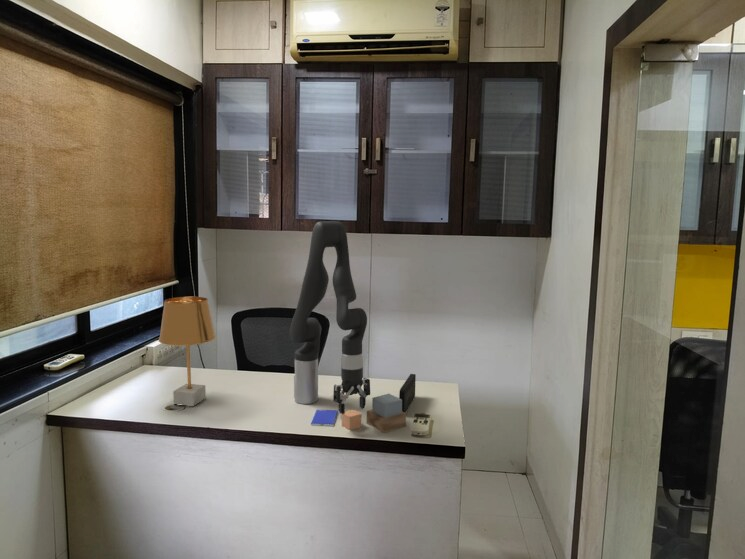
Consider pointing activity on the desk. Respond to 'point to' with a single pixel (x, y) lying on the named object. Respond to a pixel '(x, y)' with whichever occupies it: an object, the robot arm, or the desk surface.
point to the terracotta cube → (351, 419)
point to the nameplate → (407, 392)
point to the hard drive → (324, 417)
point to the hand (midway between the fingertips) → (352, 410)
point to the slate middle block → (387, 405)
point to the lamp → (187, 337)
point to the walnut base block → (386, 421)
